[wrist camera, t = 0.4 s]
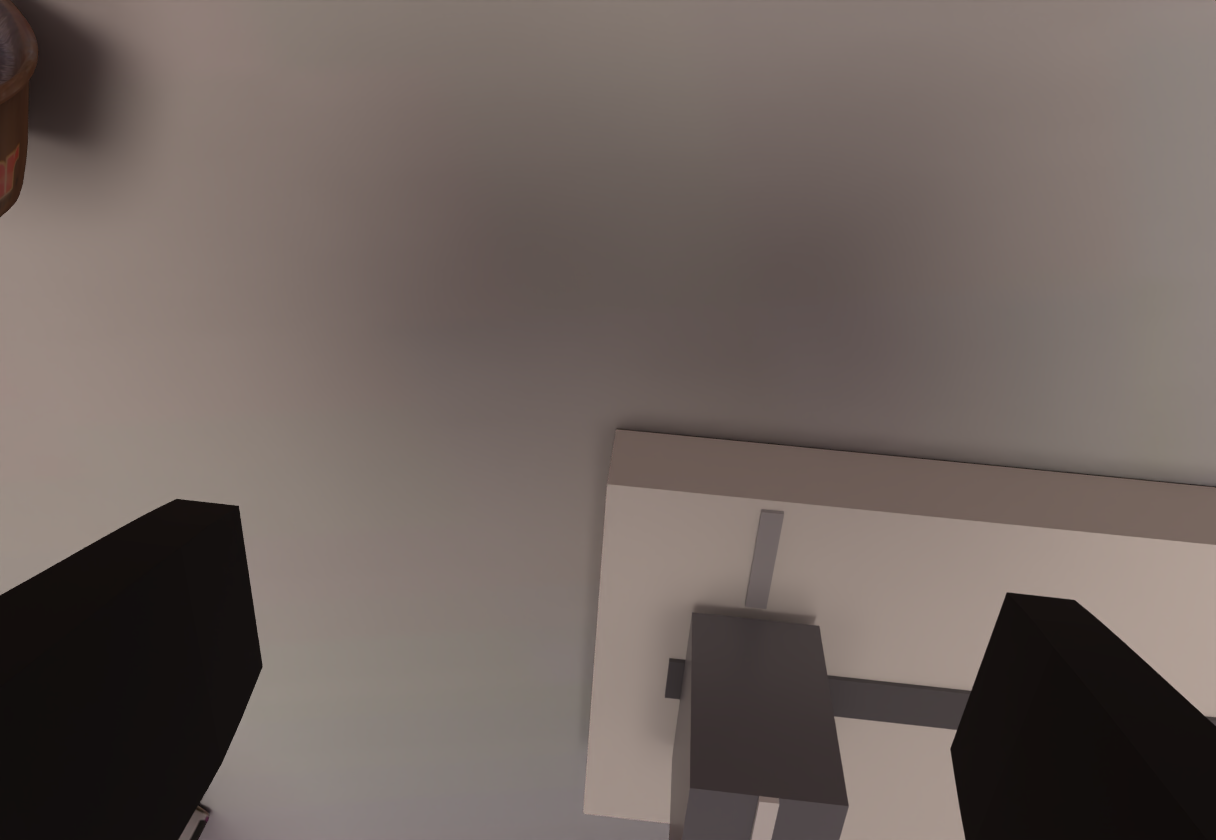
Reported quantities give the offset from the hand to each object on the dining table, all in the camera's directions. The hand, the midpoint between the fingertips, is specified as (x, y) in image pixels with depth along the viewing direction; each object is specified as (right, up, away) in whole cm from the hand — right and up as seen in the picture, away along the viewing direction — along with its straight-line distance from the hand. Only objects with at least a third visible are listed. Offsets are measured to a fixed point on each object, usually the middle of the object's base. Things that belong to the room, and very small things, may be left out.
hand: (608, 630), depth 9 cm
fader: (+3, -3, +10) cm, 11 cm away
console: (+9, -3, +11) cm, 15 cm away
